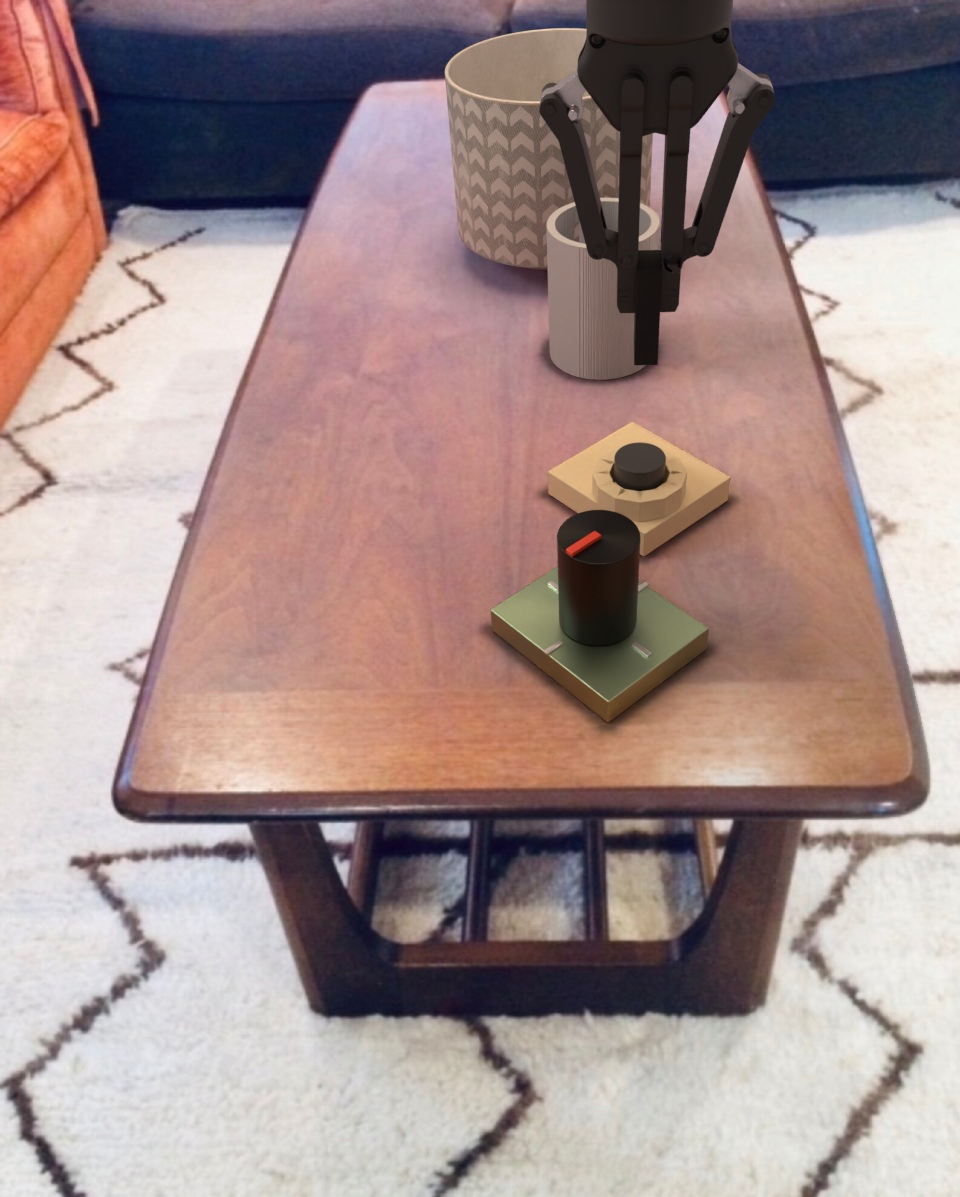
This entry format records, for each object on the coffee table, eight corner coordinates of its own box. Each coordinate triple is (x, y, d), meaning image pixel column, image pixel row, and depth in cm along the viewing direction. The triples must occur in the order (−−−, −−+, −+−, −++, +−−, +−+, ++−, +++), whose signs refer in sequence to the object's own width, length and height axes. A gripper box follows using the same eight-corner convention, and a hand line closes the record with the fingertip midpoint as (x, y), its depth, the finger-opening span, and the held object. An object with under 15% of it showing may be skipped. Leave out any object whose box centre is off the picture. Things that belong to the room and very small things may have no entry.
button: (675, 476, 78) (676, 457, 77) (639, 499, 77) (640, 479, 75) (638, 455, 80) (639, 435, 79) (603, 476, 79) (603, 457, 78)
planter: (469, 307, 104) (452, 112, 92) (453, 219, 118) (437, 39, 106) (666, 285, 105) (677, 88, 92) (628, 200, 119) (633, 19, 106)
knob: (598, 580, 73) (599, 494, 68) (652, 618, 70) (658, 532, 65) (543, 616, 71) (539, 531, 66) (597, 658, 68) (597, 572, 63)
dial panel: (708, 648, 71) (710, 625, 70) (606, 724, 67) (607, 701, 66) (589, 566, 77) (589, 543, 76) (490, 631, 73) (488, 608, 72)
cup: (621, 390, 93) (624, 258, 84) (530, 362, 97) (525, 233, 88) (671, 339, 98) (679, 210, 90) (583, 315, 102) (583, 189, 94)
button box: (728, 500, 82) (733, 457, 79) (641, 558, 78) (643, 515, 75) (631, 444, 87) (632, 401, 85) (545, 495, 83) (544, 453, 81)
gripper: (527, -31, 53) (542, 387, 69) (804, -46, 51) (753, 384, 68) (535, -71, 58) (547, 326, 74) (786, -85, 57) (743, 322, 73)
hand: (645, 353), depth 71 cm, fingers closed
